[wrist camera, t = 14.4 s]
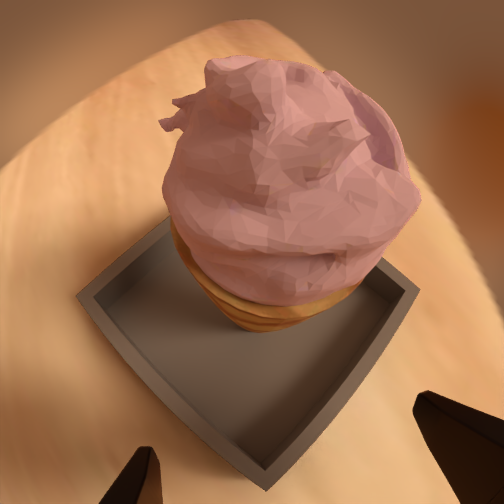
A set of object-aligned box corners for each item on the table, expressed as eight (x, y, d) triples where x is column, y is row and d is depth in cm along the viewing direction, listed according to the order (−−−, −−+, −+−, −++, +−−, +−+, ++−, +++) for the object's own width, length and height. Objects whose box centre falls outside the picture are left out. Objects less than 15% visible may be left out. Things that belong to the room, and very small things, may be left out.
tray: (261, 480, 13) (266, 491, 11) (92, 310, 17) (75, 295, 15) (401, 304, 19) (420, 289, 17) (246, 181, 23) (248, 157, 21)
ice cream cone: (172, 310, 17) (70, 50, 4) (247, 245, 20) (274, -8, 7) (255, 394, 15) (392, 267, 2) (328, 316, 18) (488, 95, 5)
